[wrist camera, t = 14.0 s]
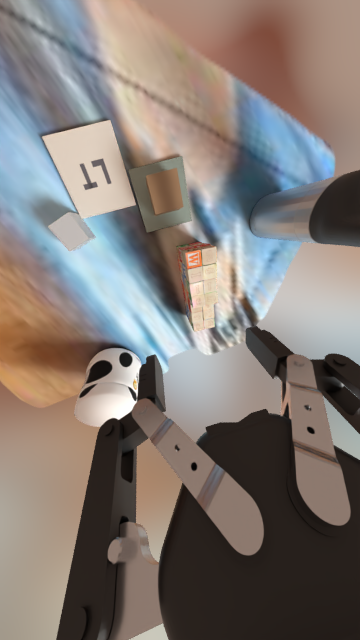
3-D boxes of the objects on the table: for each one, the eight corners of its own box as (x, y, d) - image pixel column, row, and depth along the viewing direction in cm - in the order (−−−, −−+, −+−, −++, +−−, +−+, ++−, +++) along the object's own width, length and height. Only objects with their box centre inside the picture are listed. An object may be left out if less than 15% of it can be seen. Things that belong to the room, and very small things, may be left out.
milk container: (148, 370, 61) (147, 418, 45) (104, 382, 60) (89, 434, 45) (133, 337, 51) (126, 384, 36) (81, 350, 50) (52, 403, 35)
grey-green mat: (181, 157, 31) (182, 155, 30) (191, 220, 37) (191, 220, 36) (128, 170, 30) (128, 169, 30) (146, 232, 36) (146, 232, 36)
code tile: (110, 121, 27) (110, 119, 26) (136, 205, 33) (136, 204, 33) (43, 138, 26) (41, 136, 26) (82, 219, 33) (81, 218, 32)
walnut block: (172, 177, 31) (176, 167, 26) (178, 209, 34) (183, 206, 29) (146, 184, 31) (145, 175, 26) (154, 216, 34) (155, 214, 29)
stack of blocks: (204, 311, 51) (218, 333, 40) (186, 316, 50) (196, 339, 40) (199, 241, 39) (217, 246, 29) (175, 245, 39) (185, 252, 29)
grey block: (78, 213, 33) (68, 211, 28) (96, 237, 35) (89, 238, 31) (60, 226, 33) (47, 226, 29) (79, 248, 36) (69, 251, 32)
